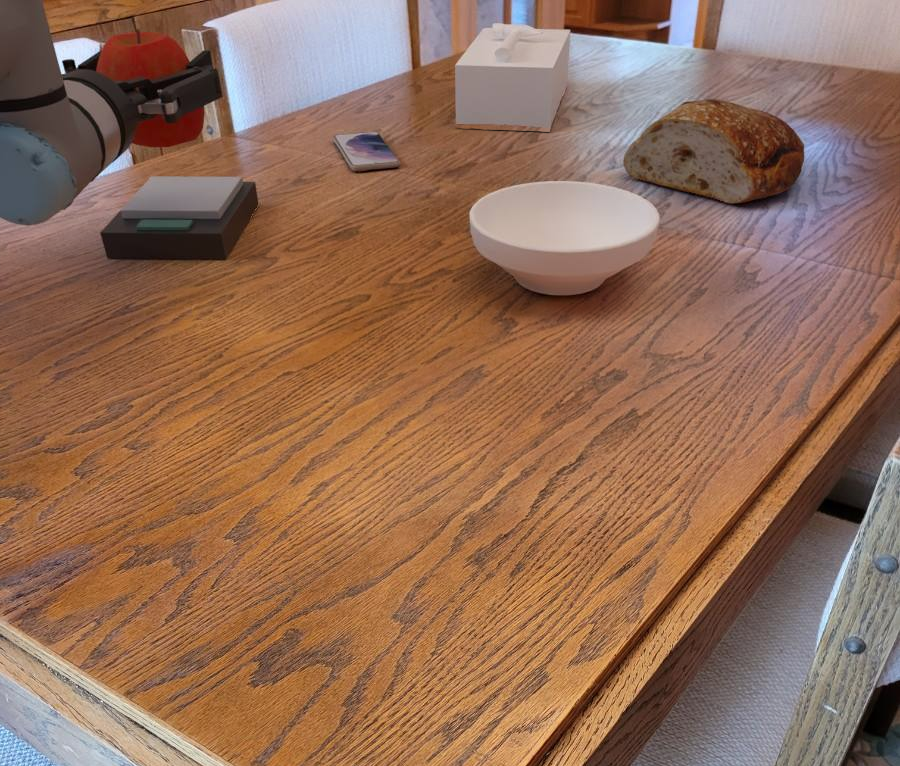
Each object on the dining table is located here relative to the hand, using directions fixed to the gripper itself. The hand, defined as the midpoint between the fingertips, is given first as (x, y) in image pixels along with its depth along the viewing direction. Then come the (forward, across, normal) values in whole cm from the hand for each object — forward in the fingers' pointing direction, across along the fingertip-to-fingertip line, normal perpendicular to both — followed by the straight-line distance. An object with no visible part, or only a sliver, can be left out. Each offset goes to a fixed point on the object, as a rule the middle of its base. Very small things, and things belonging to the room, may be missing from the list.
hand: (158, 64), depth 97 cm
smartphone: (+29, +17, -18) cm, 38 cm away
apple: (-4, 0, -7) cm, 8 cm away
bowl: (-12, +44, -18) cm, 49 cm away
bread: (+20, +66, -18) cm, 71 cm away
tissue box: (+54, +38, -18) cm, 68 cm away
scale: (0, -1, -18) cm, 18 cm away
